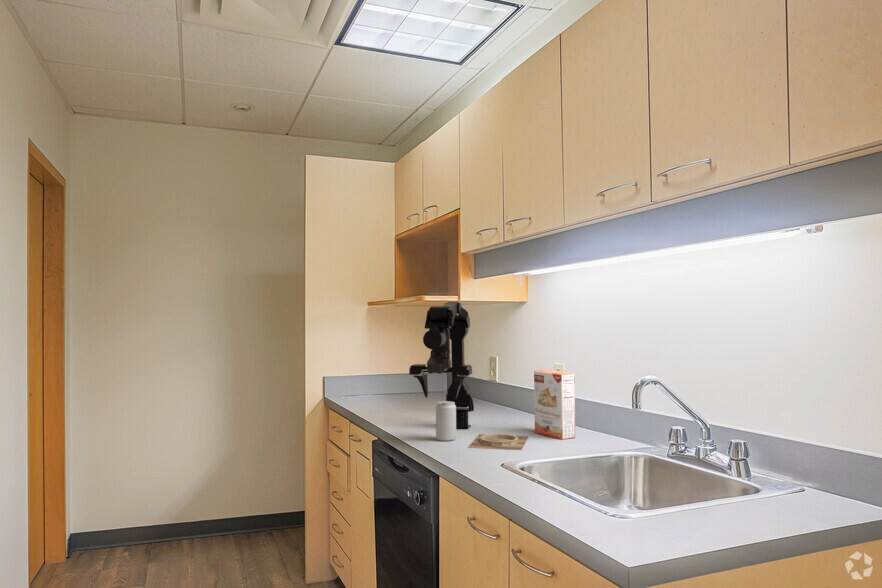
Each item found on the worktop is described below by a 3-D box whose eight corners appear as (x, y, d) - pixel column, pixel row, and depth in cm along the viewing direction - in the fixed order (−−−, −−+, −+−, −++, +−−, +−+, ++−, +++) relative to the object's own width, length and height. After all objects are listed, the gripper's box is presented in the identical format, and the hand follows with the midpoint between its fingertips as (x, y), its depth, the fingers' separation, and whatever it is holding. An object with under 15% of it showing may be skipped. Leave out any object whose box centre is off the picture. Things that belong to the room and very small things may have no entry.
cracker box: (533, 433, 216) (532, 370, 216) (547, 431, 219) (547, 368, 219) (561, 440, 203) (560, 373, 204) (576, 438, 207) (575, 372, 207)
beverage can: (432, 441, 204) (432, 403, 204) (442, 437, 210) (441, 400, 210) (450, 443, 201) (450, 404, 201) (459, 439, 207) (459, 401, 207)
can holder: (479, 435, 212) (479, 430, 212) (528, 437, 209) (528, 432, 209) (467, 448, 193) (467, 443, 193) (521, 451, 189) (521, 445, 189)
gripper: (403, 348, 194) (404, 401, 194) (465, 349, 189) (465, 402, 189) (414, 346, 205) (414, 395, 204) (472, 346, 200) (472, 397, 200)
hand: (440, 397), depth 199 cm, fingers open, 9 cm apart
